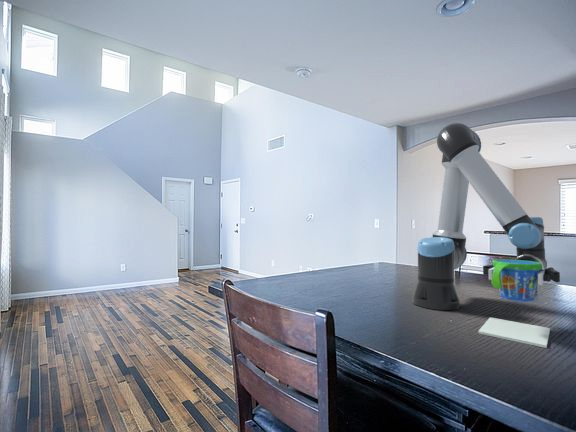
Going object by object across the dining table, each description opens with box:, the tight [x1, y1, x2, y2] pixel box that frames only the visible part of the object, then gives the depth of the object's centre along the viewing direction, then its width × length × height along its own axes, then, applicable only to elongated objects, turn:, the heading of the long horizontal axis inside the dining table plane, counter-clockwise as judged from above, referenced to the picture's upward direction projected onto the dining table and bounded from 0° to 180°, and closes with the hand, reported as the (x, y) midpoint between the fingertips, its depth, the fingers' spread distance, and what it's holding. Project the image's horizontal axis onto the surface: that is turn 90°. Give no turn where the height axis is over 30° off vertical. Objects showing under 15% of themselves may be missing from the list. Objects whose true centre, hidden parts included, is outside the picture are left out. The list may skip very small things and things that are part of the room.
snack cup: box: [490, 258, 542, 303], centre depth 85 cm, size 16×10×10 cm
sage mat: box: [477, 317, 551, 349], centre depth 85 cm, size 16×14×1 cm
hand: (513, 277), depth 82 cm, fingers closed on snack cup, 10 cm apart
